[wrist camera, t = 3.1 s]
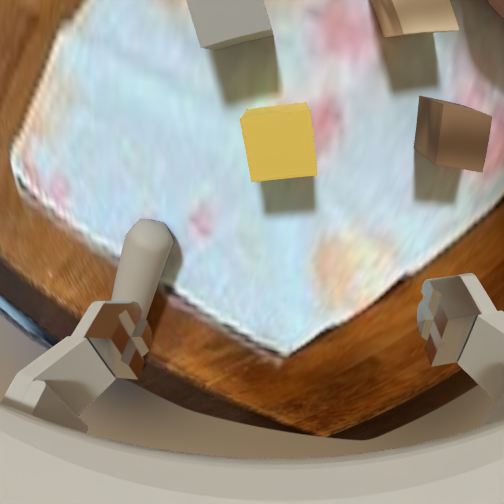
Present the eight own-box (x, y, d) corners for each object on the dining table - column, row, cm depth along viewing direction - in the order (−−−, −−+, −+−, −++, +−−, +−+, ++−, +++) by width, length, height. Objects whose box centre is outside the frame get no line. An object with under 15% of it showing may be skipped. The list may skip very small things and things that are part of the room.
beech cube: (364, -14, 18) (381, -28, 14) (415, -17, 16) (439, -29, 12) (383, 37, 20) (403, 33, 16) (432, 32, 19) (459, 30, 15)
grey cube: (200, 1, 20) (183, -11, 16) (258, -15, 19) (252, -31, 15) (215, 50, 23) (200, 47, 18) (273, 35, 22) (271, 29, 17)
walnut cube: (419, 95, 23) (443, 104, 18) (463, 105, 22) (492, 116, 18) (413, 147, 25) (435, 164, 21) (457, 154, 25) (482, 172, 21)
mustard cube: (247, 109, 25) (239, 118, 21) (305, 102, 25) (310, 110, 20) (257, 162, 28) (251, 182, 24) (312, 156, 27) (317, 175, 23)
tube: (117, 219, 28) (94, 354, 41) (158, 250, 28) (120, 377, 41) (151, 203, 33) (116, 335, 46) (190, 230, 32) (141, 356, 45)
